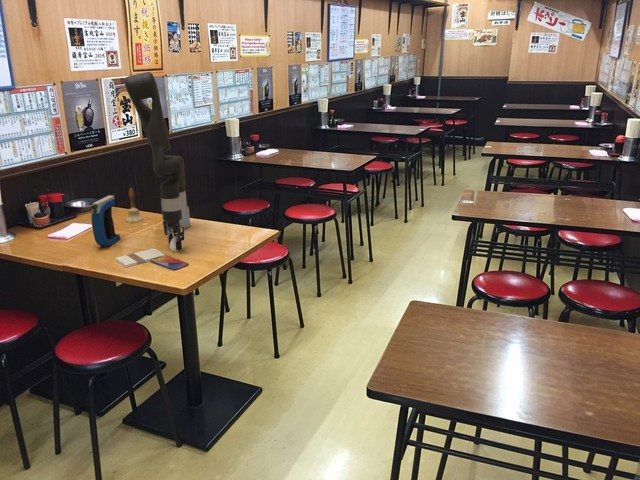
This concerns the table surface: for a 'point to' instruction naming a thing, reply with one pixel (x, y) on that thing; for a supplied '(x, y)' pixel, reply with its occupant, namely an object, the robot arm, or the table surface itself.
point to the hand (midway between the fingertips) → (175, 247)
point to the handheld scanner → (104, 221)
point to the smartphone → (169, 262)
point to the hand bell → (133, 210)
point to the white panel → (139, 257)
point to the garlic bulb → (174, 245)
